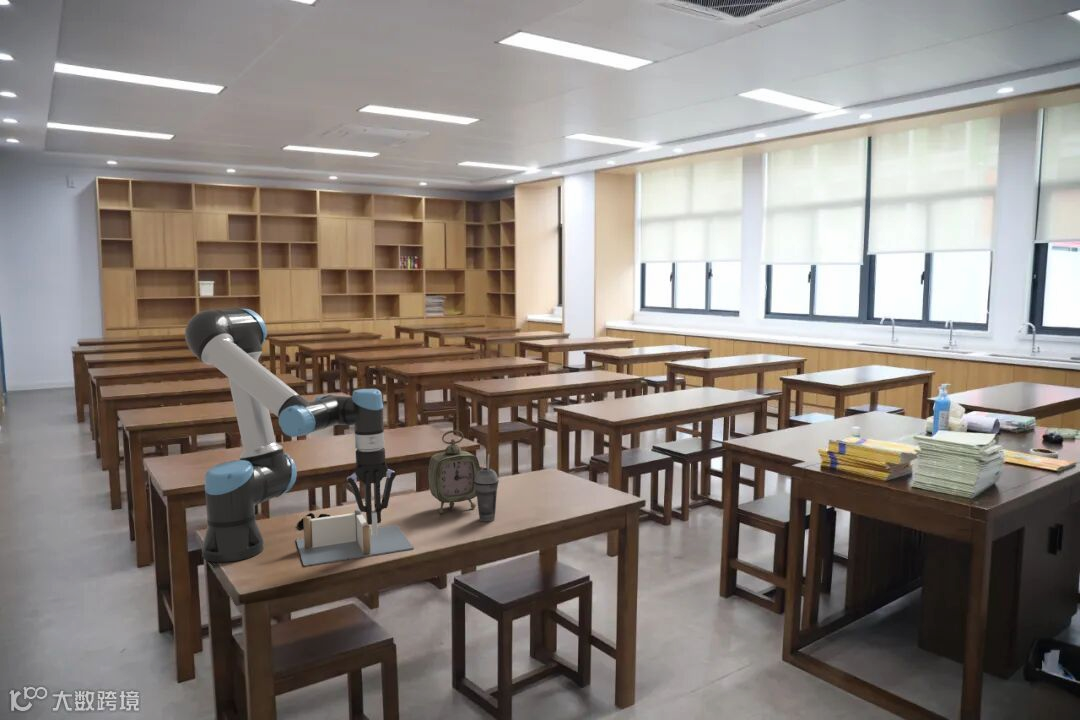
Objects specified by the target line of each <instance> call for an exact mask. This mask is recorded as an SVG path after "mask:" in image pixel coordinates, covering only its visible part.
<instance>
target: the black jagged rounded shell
mask: <svg viewBox="0 0 1080 720" xmlns="http://www.w3.org/2000/svg"><path fill="white" fill-rule="evenodd" d="M306 516H310V517H311V519H314V518H322V517H329V516H331V514H327V513H320V514H319V515H318V516H317V517H315V514H314V513H312V512H309V513H308V514H306V515H305V517H306ZM296 526H297V530H298V531H299V532H300V531H304V525H303V518H301V519H300V520H299V521H298V522H297V525H296Z"/></svg>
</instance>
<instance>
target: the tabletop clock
mask: <svg viewBox="0 0 1080 720" xmlns="http://www.w3.org/2000/svg"><path fill="white" fill-rule="evenodd" d="M453 433H454V434H455V433H457V434H460V435H461V438H460V439H458V440H455V439H451V440H450V441H446V440H445V439H444V438H445V436H446V435H448V434H453ZM463 440H464V434H463V432H462V431H459V430H448V431H446V432H445V433H444V434H443V435H442V436H441V441H442V442H443V443H444V444H445V445H446V444H447V445H448V446H446V447H445V450H444V451H443V452H439V453H436V454H433V455H432V456H430V459H429V462H428V473H427V475H428V476H427V477H428V487H429V490H430V493H431V495H432V497H434V499H436V500H437V501H439V502H440V503H441V504H440V507H439V508H438V509H437V512H438V513H439V514H443V513H444V509H443V507H444V504H447V503H448V504H449V507H450V508H454V507H455V503H459V502H460V503H461V502H464V501H468V502H469V503H470V508H471V509H475V508H476V506H477V505H476V503H474V502H473V501H472V499H474V498H476V497H477V492H476V488H475V483H474V482H475V477H476V474H477V473H478V472H479V471H480V470H481V468H480V462H479V460H478V457H477V456H476V455H474V454H473V453H470V452H468V451H466V450H462V449H461V447H460V446H459V445H458V444H459V443H460V442H462V441H463Z"/></svg>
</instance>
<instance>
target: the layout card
mask: <svg viewBox="0 0 1080 720" xmlns="http://www.w3.org/2000/svg"><path fill="white" fill-rule="evenodd" d="M295 541H296V542H295V543H296V545H297V549H298V552H299V555H301V556H300V559H301V562H302V565H304V566H305V567H310V566H309V565H312V566H317V564H318V565H324V564H329V563H337V562H343V561H348V560H347V559H349V560H354V559H353V558H356V559H360V557H362V558H369V557H373V556H380V555H386V554H392V553H399V552H404V551H411V550H414V547H413V545H412V544H411V543H410V541H409V540H408V539H407V537H406V535H405V534H404V533H403V532H402V530H401V529H400V527H399V526H398V525H397V524H394V525H388V526H387V525H386V526H381V527H380V526H379V527H378V537H373V536H372V535H371V528H370V549H371V552H370V553H367V554H365V553H364V552H363V550H362V548H361V546H360V544H359V542H358V541H357V540H356V541H350V542H344V543H337V544H330V545H324V546H317V547H311V548H305V546H304V537H302V538H297V539H295ZM342 560H343V561H342ZM336 561H337V562H336ZM304 566H303V567H304Z"/></svg>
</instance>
